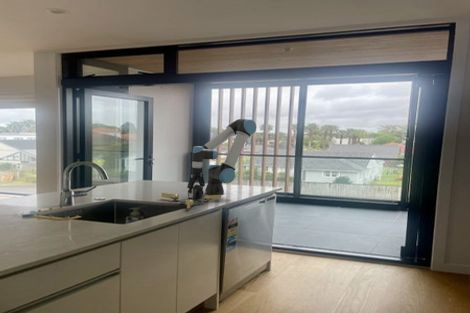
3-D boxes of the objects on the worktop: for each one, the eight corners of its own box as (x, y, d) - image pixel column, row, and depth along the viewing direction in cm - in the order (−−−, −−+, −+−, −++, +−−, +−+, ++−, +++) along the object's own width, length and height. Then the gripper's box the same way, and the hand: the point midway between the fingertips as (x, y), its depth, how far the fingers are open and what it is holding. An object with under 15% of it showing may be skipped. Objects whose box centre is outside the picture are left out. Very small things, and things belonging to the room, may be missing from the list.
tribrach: (190, 196, 270) (190, 190, 269) (221, 200, 258) (222, 194, 257) (153, 205, 232) (153, 198, 231) (188, 211, 220) (189, 203, 219)
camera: (200, 200, 256) (200, 186, 255) (186, 199, 258) (187, 185, 257) (205, 197, 269) (205, 184, 268) (192, 196, 271) (192, 183, 270)
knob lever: (179, 200, 251) (180, 194, 251) (175, 201, 247) (175, 195, 246) (164, 197, 257) (164, 192, 257) (159, 198, 252) (160, 193, 252)
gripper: (201, 166, 275) (200, 193, 276) (183, 167, 252) (181, 197, 254) (210, 166, 271) (209, 194, 273) (192, 168, 249) (190, 199, 250)
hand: (195, 196), depth 263 cm, fingers closed on camera, 13 cm apart
